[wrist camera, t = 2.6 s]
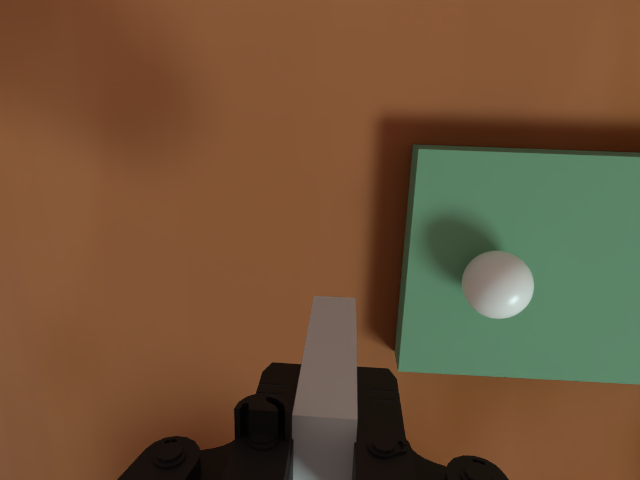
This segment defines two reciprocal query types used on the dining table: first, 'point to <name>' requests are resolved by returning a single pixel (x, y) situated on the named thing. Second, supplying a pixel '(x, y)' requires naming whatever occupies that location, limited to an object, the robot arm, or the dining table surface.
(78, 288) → the dining table surface
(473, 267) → the ball
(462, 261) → the mat
